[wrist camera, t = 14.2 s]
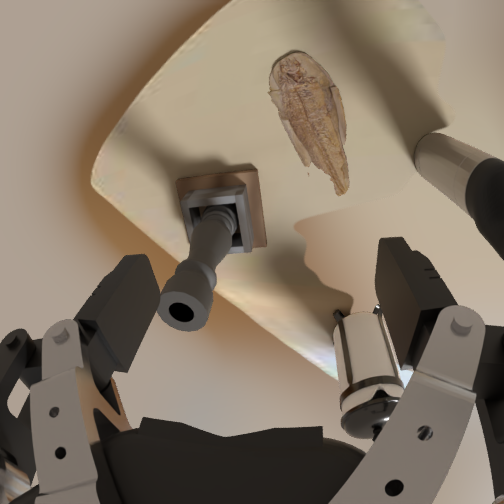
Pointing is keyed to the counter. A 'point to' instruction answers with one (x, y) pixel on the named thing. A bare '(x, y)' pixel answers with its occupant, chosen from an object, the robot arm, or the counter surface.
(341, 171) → the fish fossil
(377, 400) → the coffee press
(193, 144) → the counter surface
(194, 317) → the candle holder
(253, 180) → the collar socket
